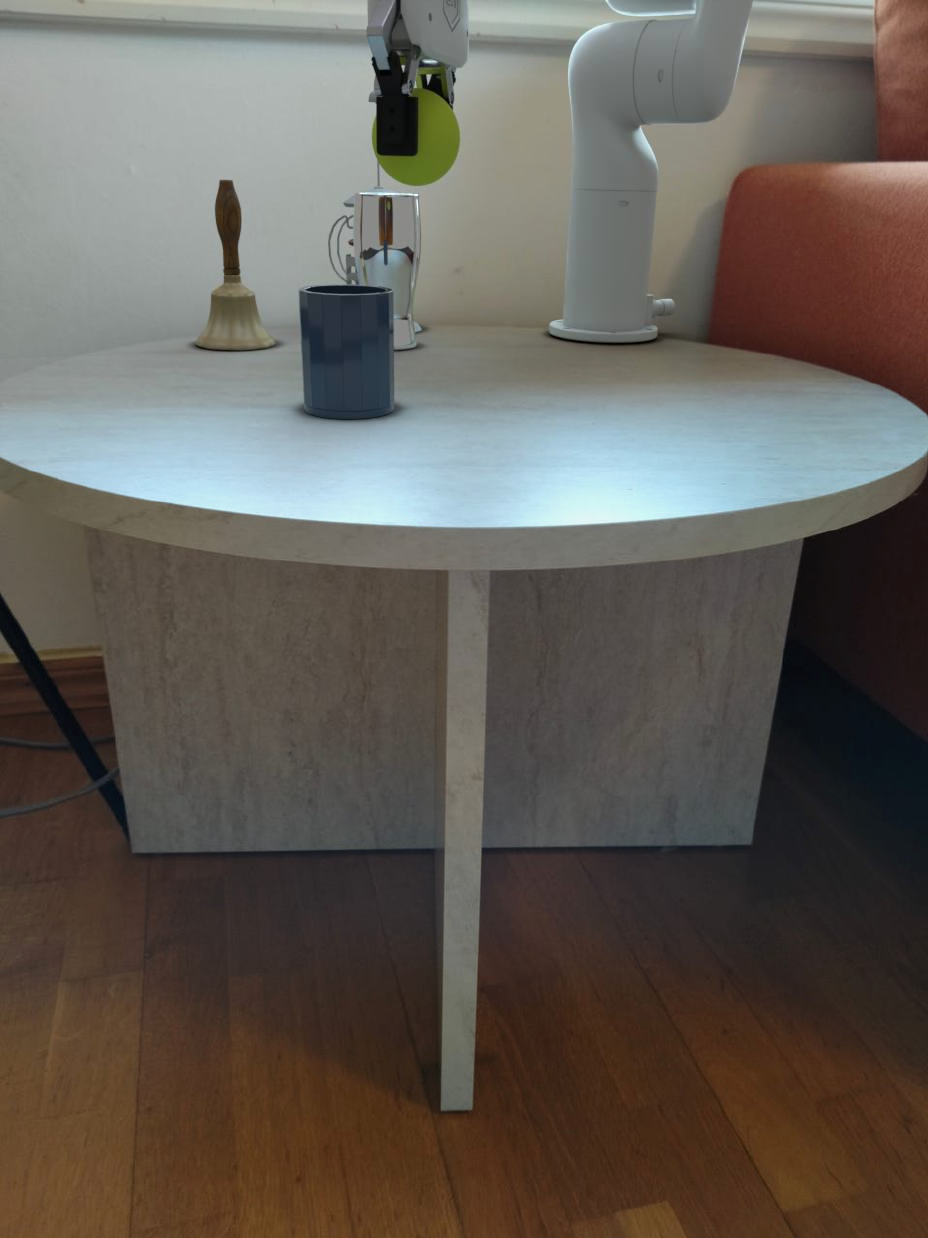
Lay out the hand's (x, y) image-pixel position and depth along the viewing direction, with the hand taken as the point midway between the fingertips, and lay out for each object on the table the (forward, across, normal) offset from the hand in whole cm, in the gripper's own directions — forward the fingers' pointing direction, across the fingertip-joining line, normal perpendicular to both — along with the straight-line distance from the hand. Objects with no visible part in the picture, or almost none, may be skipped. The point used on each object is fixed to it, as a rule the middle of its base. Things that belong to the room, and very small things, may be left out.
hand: (415, 155), depth 79 cm
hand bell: (+18, +13, +25) cm, 34 cm away
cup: (+18, -10, +1) cm, 21 cm away
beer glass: (+18, +19, +11) cm, 29 cm away
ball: (-1, 0, 0) cm, 1 cm away
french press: (+18, +30, +17) cm, 39 cm away
